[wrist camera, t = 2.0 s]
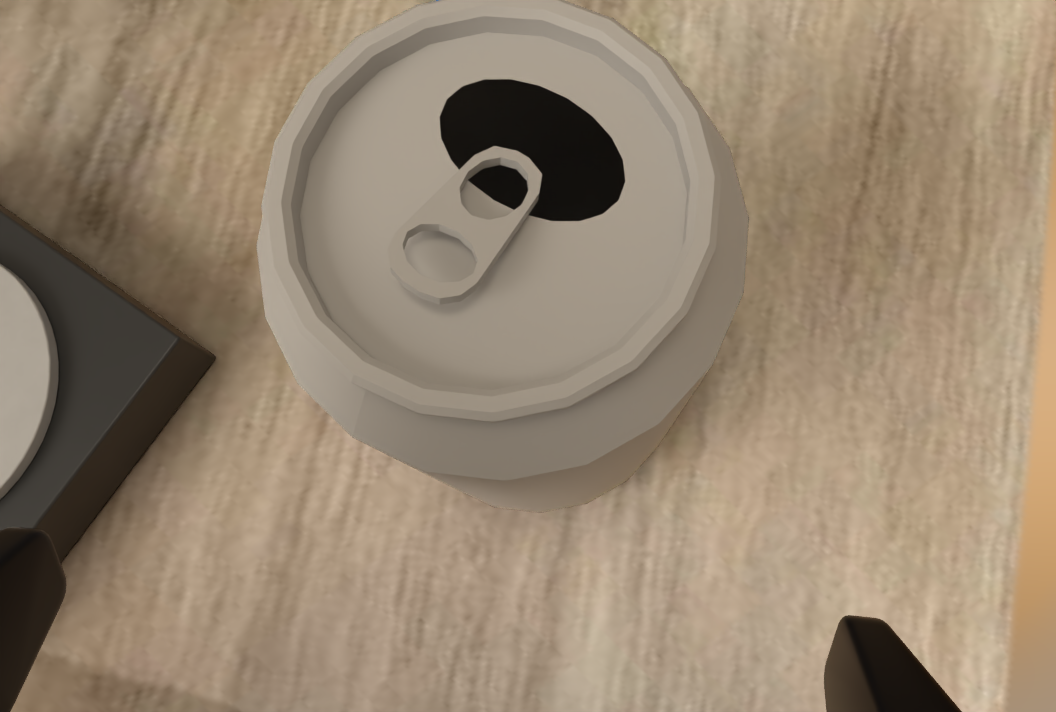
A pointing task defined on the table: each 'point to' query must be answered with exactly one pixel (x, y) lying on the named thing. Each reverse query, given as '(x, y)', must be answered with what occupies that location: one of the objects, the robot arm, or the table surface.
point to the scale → (76, 384)
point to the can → (502, 246)
